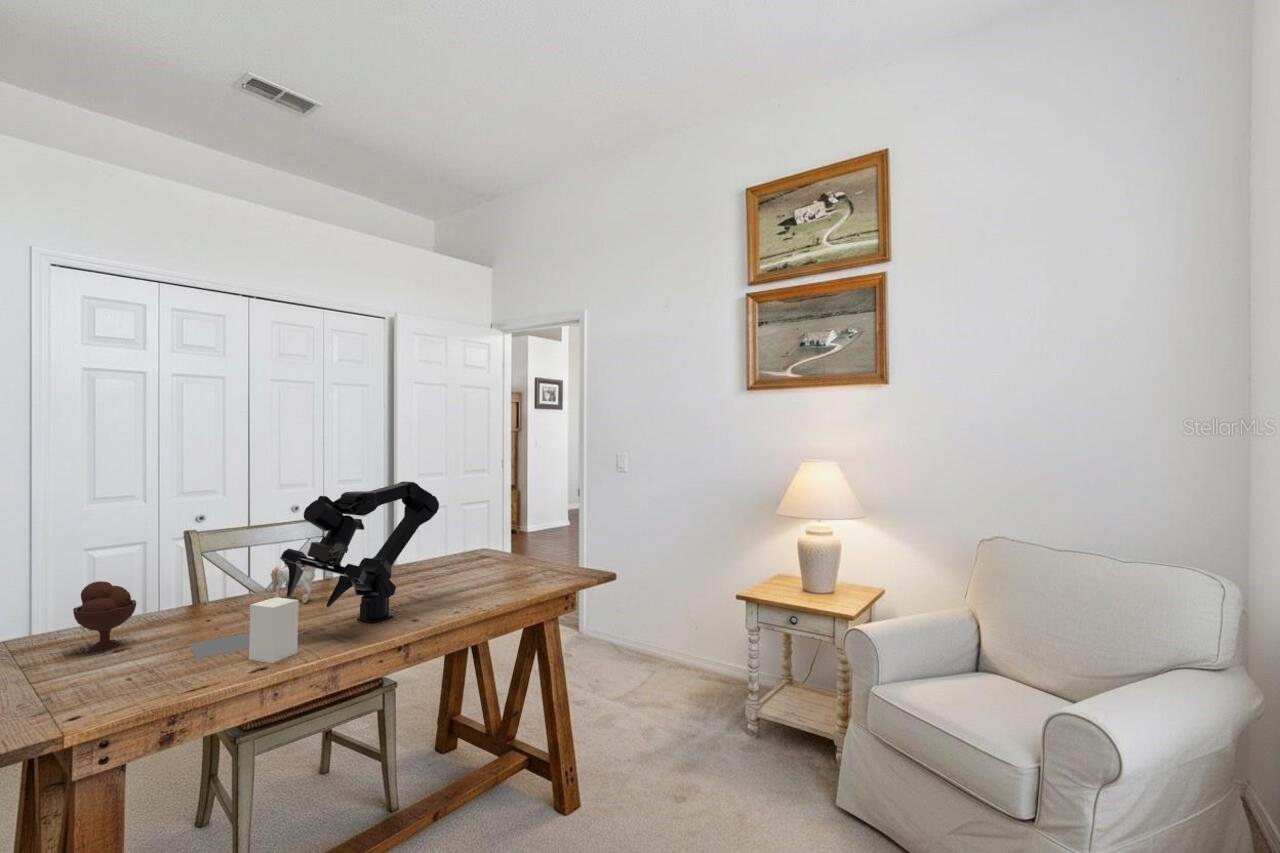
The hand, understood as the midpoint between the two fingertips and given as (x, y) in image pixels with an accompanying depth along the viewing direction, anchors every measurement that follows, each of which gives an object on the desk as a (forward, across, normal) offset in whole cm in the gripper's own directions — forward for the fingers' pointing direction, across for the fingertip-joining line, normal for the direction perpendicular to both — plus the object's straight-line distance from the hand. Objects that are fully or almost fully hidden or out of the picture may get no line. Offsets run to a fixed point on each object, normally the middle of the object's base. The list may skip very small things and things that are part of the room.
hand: (307, 601), depth 144 cm
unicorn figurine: (-7, -15, +41) cm, 44 cm away
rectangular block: (+13, 0, -3) cm, 14 cm away
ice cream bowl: (+19, -39, +8) cm, 44 cm away
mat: (+13, -14, +5) cm, 20 cm away
